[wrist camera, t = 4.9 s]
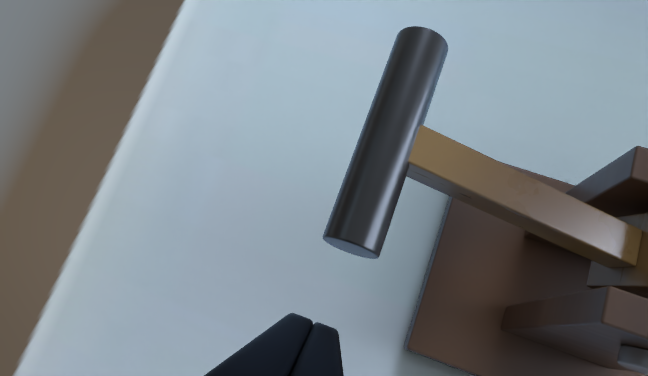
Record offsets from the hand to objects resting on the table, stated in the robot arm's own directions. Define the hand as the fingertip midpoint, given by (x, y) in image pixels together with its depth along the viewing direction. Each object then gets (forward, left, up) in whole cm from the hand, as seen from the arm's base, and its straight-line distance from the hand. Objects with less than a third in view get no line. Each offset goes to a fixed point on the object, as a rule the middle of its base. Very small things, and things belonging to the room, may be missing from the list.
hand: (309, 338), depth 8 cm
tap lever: (+7, +1, -6) cm, 9 cm away
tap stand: (+10, -2, -13) cm, 17 cm away
